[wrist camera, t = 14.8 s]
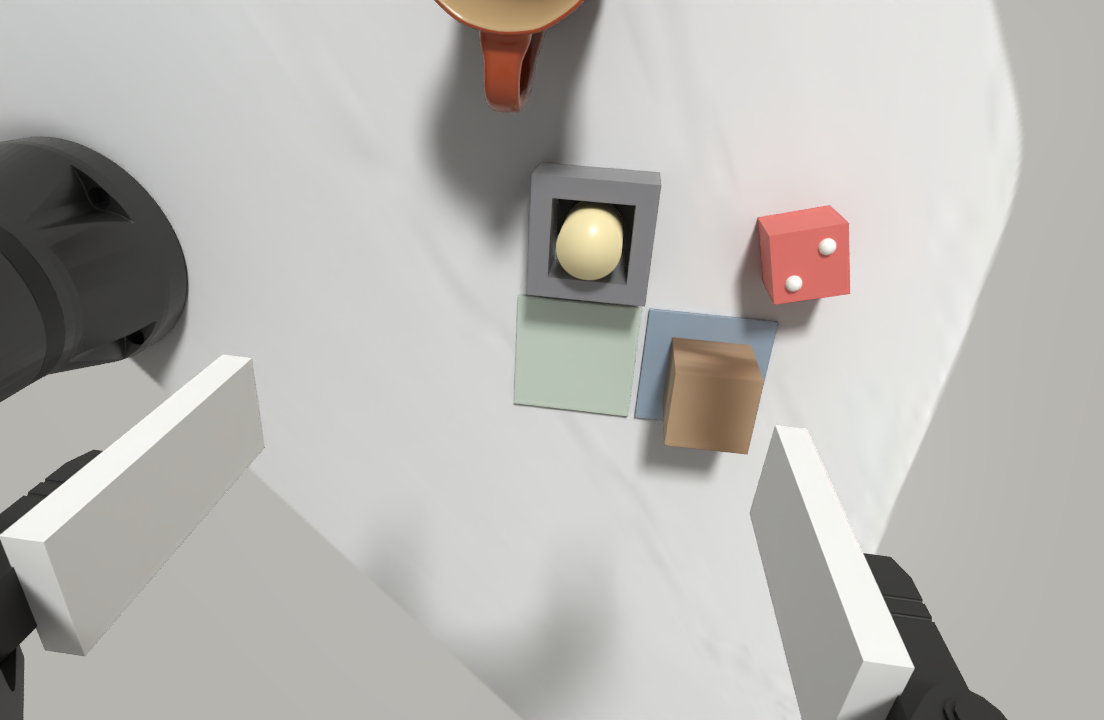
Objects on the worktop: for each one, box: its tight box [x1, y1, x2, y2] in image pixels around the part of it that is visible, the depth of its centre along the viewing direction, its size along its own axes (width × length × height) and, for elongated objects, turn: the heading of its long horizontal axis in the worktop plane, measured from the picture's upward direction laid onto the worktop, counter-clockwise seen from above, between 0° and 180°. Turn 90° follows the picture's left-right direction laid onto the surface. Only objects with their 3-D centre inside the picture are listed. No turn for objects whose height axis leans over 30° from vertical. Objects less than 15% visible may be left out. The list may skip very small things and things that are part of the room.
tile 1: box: [514, 295, 642, 416], centre depth 44 cm, size 8×8×1 cm
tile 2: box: [635, 309, 778, 420], centre depth 43 cm, size 8×8×1 cm
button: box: [556, 201, 624, 280], centre depth 37 cm, size 4×4×4 cm
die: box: [758, 205, 850, 305], centre depth 37 cm, size 4×4×4 cm
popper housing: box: [526, 163, 661, 307], centre depth 38 cm, size 7×7×4 cm
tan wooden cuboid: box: [662, 337, 764, 454], centre depth 41 cm, size 5×5×5 cm
